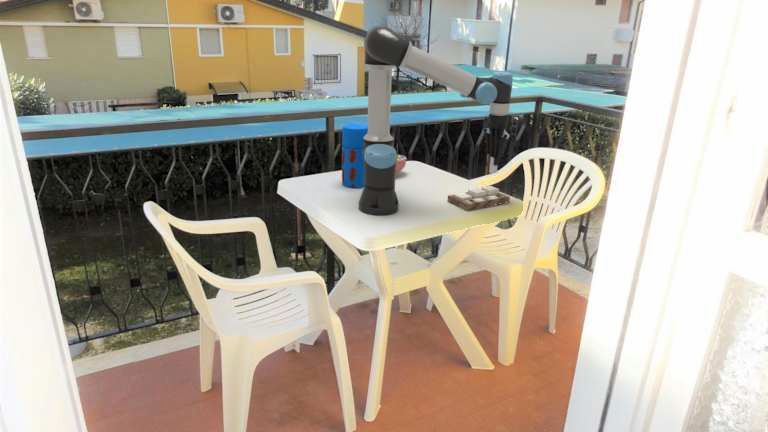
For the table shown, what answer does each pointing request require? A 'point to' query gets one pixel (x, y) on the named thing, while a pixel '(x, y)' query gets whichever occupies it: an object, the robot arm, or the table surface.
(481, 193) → the button middle
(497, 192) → the button right
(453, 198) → the button board
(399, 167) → the cell model
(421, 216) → the table surface
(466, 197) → the button left
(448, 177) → the table surface
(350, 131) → the thermos
